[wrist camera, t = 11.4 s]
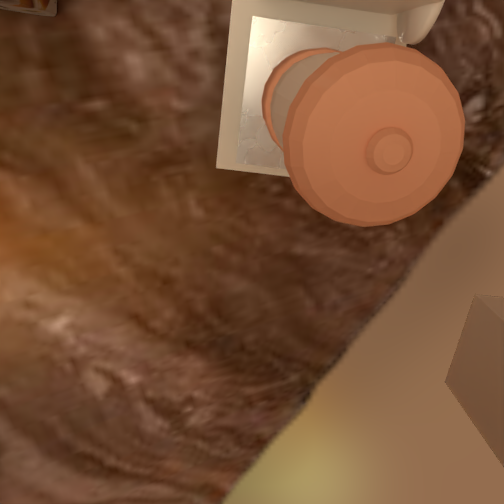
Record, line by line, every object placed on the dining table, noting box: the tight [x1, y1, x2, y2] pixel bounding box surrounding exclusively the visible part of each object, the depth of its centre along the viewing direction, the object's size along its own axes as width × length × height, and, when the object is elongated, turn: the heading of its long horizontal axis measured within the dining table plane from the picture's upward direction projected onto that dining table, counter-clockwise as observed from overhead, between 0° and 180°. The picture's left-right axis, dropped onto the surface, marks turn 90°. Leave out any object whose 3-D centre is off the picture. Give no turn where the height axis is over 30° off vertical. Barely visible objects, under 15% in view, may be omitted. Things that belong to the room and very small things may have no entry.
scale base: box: [216, 0, 445, 177], centre depth 31 cm, size 18×13×12 cm
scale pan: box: [236, 16, 396, 169], centre depth 34 cm, size 10×10×1 cm
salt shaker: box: [261, 42, 465, 227], centre depth 24 cm, size 7×7×19 cm
